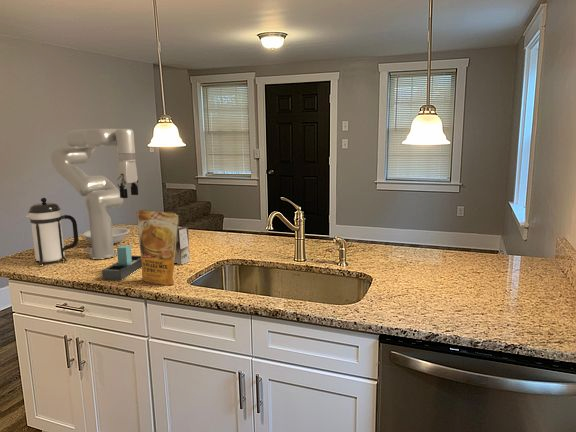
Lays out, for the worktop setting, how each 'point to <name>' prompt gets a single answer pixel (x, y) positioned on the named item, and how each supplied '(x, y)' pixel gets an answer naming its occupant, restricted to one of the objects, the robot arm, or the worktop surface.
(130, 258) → the peg
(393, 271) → the worktop surface
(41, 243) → the coffee press
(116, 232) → the soup bowl
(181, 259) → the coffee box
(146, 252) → the pancake mix bag
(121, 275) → the rail
